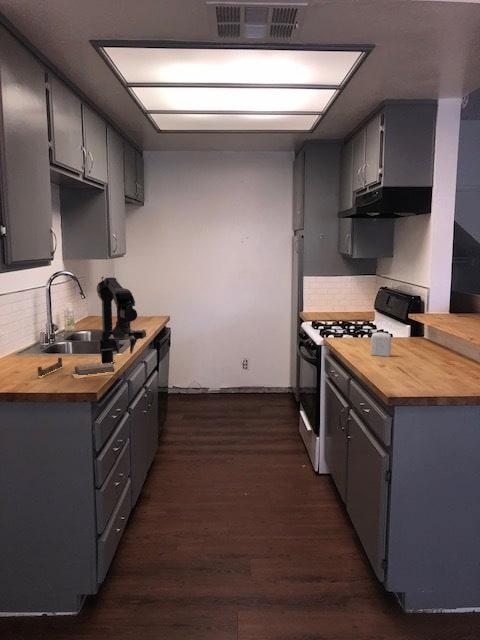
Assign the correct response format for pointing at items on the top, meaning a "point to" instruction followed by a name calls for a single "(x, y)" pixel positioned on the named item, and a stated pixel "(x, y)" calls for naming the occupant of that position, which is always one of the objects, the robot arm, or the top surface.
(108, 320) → the robot arm
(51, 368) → the stop board
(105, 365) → the packaged product
